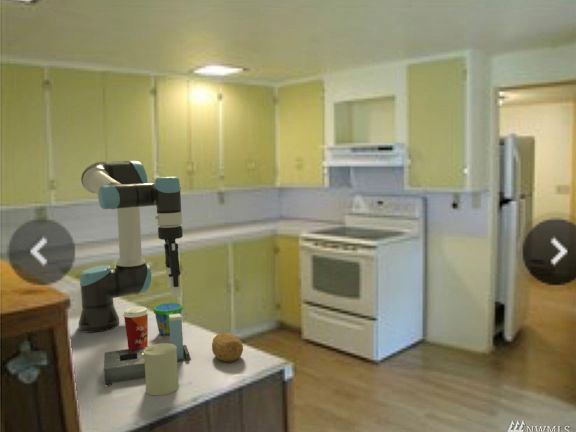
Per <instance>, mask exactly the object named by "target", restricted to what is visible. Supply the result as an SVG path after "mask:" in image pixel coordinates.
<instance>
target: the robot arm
mask: <svg viewBox="0 0 576 432" xmlns="http://www.w3.org/2000/svg"><path fill="white" fill-rule="evenodd" d="M80 179H81V180H80V182H81V185H82V186H83V187H84V189H85V190H86V191H88V192H90V193H91V194H96V195H97V197H98V198H97V199H98V203H99V207H100V208H101V209H103V210H116V213H117V215H116V216H117V230H118V232H117V234H118V251H119V254H118V255H119V259H118V260H117V261H116V262H115V268H112V267H111V265H108V264H105V265H96V266H93V267H90V268H87V269H86V270H83V271H82V272H81V273H80V274H79V286H80V296H81V306H82V307H81V313H80V315H79V316H80V317H79V320H78V330H79V331H80V332H84V333H85V332H86V333H98V332H99V333H100V332H104V331H109V330H112V329H114V328H117V327H118V326H119V325H120V316H119V314H118V312H117V311H116V307H115V303H114V299H115V298H116V299H117V298H122V297H128V296H133V295H137V296H138V295H139V294H144V293H146V292H148V290H149V289H150V287H151V284H152V268H151V266H150V265H149V263H147V261H146V260H145V258H144V257H142V255H143V253H142V237H141V236H142V234H141V232H142V231H141V230H142V229H141V211H140V210H141V209H140V208H141V207H154V206H155V207H156V215H155V217H154V219H155V220H157V225H158V227H157V236H158V239H159V240H164V244H163V246H164V247H163V248H164V253H165V255H164V256H165V261H164V264H165V268H166V269H165V270H166V285H167V288H170V290H171V291H170V293H171V298H180V297H182V293H181V276H180V275H181V270H180V269H181V267H180V260H179V259H180V258H179V244H178V243H177V241H176V239H181V238H183V237H184V236H183V233H184V232H183V226H182V224H183V214H182V198H181V197H182V196H181V189H182V188H181V184H180V178H179V177H177V176H160V177H156V178H155V179H154V181H153V182H149V181H148V175H147V172H146V169H145V167H144V165H143V164H142V163H141V162H140V161H138V160H119V161H118V160H116V161H115V160H114V161H113V160H112V161H98V162H95V163H93V164H91V165H89V166H87V167H86V168H85V169H84V170H83V171H82V174H81V177H80Z"/></svg>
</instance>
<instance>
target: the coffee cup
mask: <svg viewBox="0 0 576 432" xmlns="http://www.w3.org/2000/svg"><path fill="white" fill-rule="evenodd" d="M148 314H149V310H148V308H147V307H145V306H132V307H127V308H126V309H124V311H123V314H122V316H123V318H124V326H125V332H126V333H125V334H126V342H127V349H132V348H140V347H147V346H148V344H149V342H148V336H149V335H148V329H149V328H148V325H149V324H148V323H149V321H148V318H149V317H148Z"/></svg>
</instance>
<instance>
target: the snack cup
mask: <svg viewBox="0 0 576 432" xmlns="http://www.w3.org/2000/svg"><path fill="white" fill-rule="evenodd" d="M183 309H184V308H183V304H182V303H178V302H167V303H165V302H164V303H160V304H157V305H156V306H154V307H153V312H154V314H155V320H156V321H155V322H156V324H157V329H158V330H157V331H158V332H159V334H160V335H161V336H165V337H166V336H169V337H170V328H169V315H171V314H179V313H180V315H181V316H182V312H183Z"/></svg>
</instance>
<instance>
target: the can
mask: <svg viewBox="0 0 576 432" xmlns="http://www.w3.org/2000/svg"><path fill="white" fill-rule="evenodd" d="M143 352H144V361H145V377H146V378H145V392H146V393H147V394H148V395H152V396H163V395H164V396H165V395H169V394H172V393H174V392H176V391H177V390H178V389H179V388H180V384H179V374H178V373H179V372H178V362H177V347H176V346H175V345H174V344H170V342H169V343H165V342H161V343H156V344H151V345H149V347H147V348H145V349H144V351H143Z"/></svg>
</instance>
